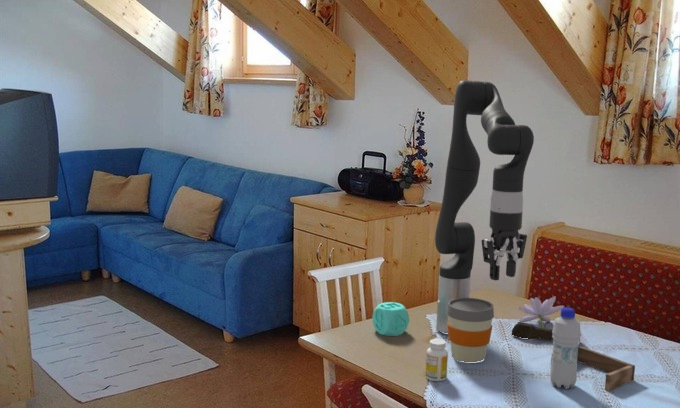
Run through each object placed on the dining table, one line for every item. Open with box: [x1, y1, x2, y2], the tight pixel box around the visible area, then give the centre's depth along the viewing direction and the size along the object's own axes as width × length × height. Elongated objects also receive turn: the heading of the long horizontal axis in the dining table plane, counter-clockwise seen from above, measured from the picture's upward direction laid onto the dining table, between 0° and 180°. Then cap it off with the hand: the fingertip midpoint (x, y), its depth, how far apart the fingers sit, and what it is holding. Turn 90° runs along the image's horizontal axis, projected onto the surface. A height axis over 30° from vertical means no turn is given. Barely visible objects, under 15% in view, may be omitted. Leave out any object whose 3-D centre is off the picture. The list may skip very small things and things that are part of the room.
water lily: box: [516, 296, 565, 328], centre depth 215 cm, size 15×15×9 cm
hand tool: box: [511, 322, 553, 341], centre depth 205 cm, size 19×4×5 cm, turn 74°
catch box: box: [550, 344, 636, 392], centre depth 180 cm, size 11×17×4 cm, turn 36°
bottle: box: [549, 306, 582, 390], centre depth 172 cm, size 7×7×20 cm
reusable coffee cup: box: [447, 297, 495, 362], centre depth 190 cm, size 13×13×15 cm
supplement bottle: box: [424, 338, 449, 382], centre depth 176 cm, size 5×5×10 cm
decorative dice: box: [371, 301, 410, 337], centre depth 209 cm, size 8×8×8 cm
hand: (502, 277), depth 169 cm, fingers open, 5 cm apart
